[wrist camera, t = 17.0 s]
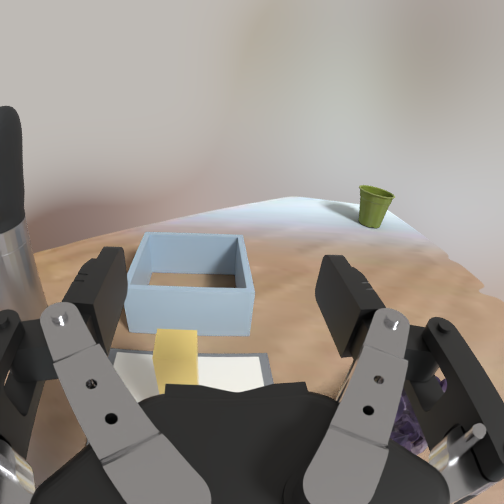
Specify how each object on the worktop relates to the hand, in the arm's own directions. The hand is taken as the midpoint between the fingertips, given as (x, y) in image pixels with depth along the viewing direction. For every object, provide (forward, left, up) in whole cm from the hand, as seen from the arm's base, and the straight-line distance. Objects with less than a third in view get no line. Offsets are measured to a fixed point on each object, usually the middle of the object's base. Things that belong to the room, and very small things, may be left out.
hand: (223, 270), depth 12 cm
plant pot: (+50, +71, -26) cm, 90 cm away
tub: (-3, +32, -25) cm, 41 cm away
